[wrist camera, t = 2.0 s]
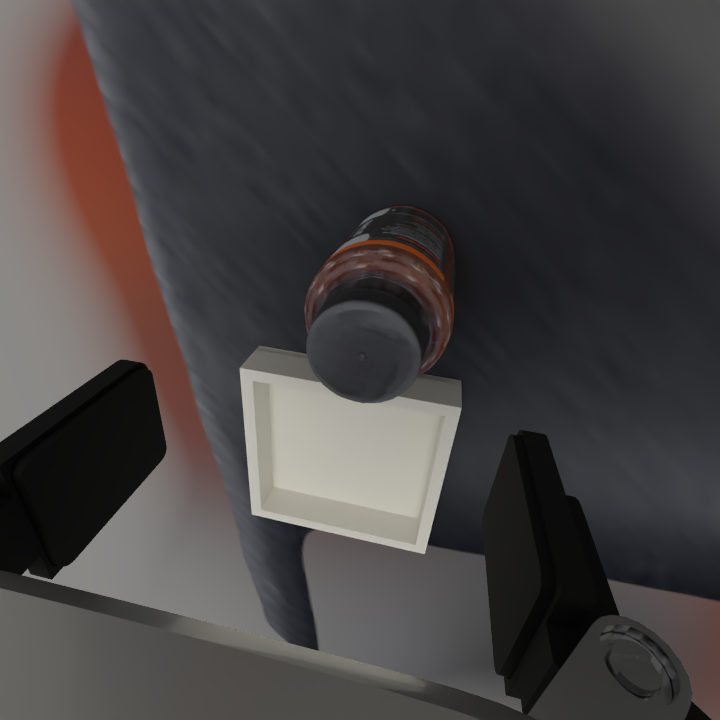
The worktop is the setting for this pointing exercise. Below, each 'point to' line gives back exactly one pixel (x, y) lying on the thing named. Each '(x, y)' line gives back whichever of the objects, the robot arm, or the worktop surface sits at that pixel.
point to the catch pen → (346, 451)
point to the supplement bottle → (382, 306)
